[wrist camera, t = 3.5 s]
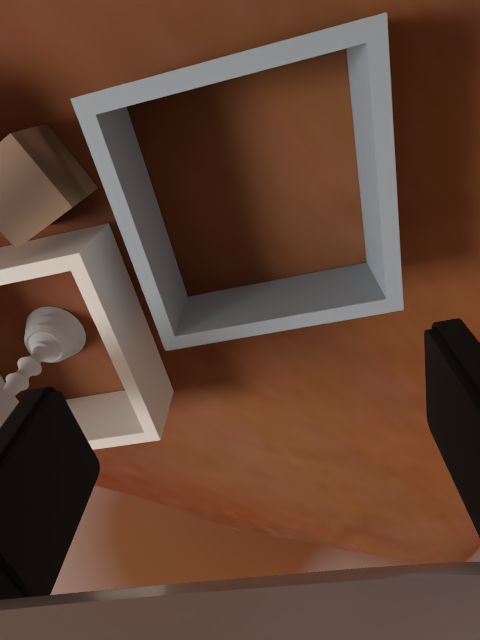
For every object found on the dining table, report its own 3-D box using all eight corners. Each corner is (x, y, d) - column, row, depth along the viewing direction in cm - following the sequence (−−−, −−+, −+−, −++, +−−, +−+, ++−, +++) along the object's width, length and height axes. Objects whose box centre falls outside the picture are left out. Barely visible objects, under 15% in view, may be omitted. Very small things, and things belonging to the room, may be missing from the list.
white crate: (-80, 265, 35) (-141, 299, 29) (108, 222, 32) (79, 252, 27) (15, 416, 42) (-20, 465, 37) (173, 391, 40) (160, 440, 35)
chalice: (8, 350, 38) (-165, 544, 23) (16, 284, 35) (-182, 458, 19) (91, 375, 39) (-22, 577, 24) (106, 313, 36) (-14, 501, 20)
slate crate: (106, 92, 28) (70, 98, 23) (361, 23, 25) (387, 12, 20) (179, 309, 36) (165, 351, 30) (381, 271, 33) (403, 309, 28)
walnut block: (-3, 165, 31) (-46, 182, 26) (48, 123, 29) (10, 133, 25) (49, 224, 33) (16, 249, 28) (98, 187, 31) (72, 207, 27)
